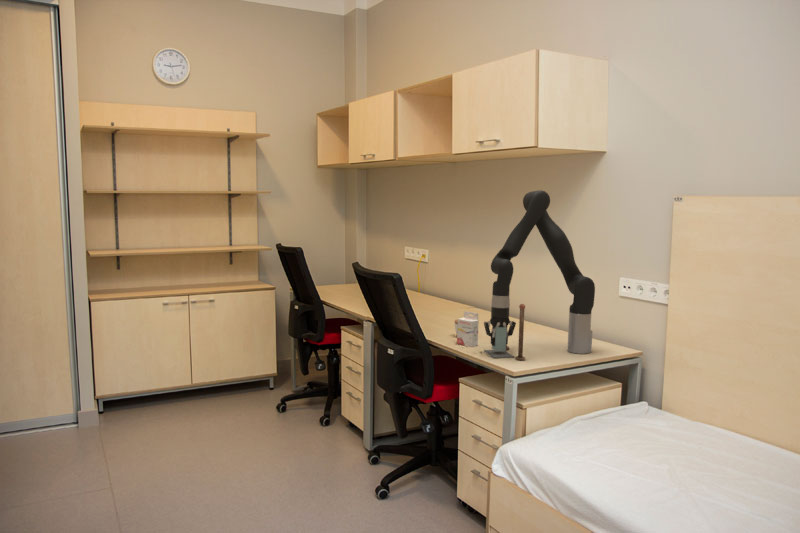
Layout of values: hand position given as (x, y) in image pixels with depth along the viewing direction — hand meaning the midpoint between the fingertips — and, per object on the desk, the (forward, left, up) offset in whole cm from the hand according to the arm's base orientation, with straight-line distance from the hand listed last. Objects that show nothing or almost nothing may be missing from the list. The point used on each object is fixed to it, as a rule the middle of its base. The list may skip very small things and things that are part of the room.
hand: (498, 345), depth 254 cm
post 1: (-6, -9, -4) cm, 12 cm away
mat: (0, 0, -4) cm, 4 cm away
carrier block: (0, 0, -2) cm, 2 cm away
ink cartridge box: (+8, -19, -4) cm, 21 cm away
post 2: (-6, +9, -4) cm, 12 cm away
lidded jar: (+4, -35, -4) cm, 35 cm away
